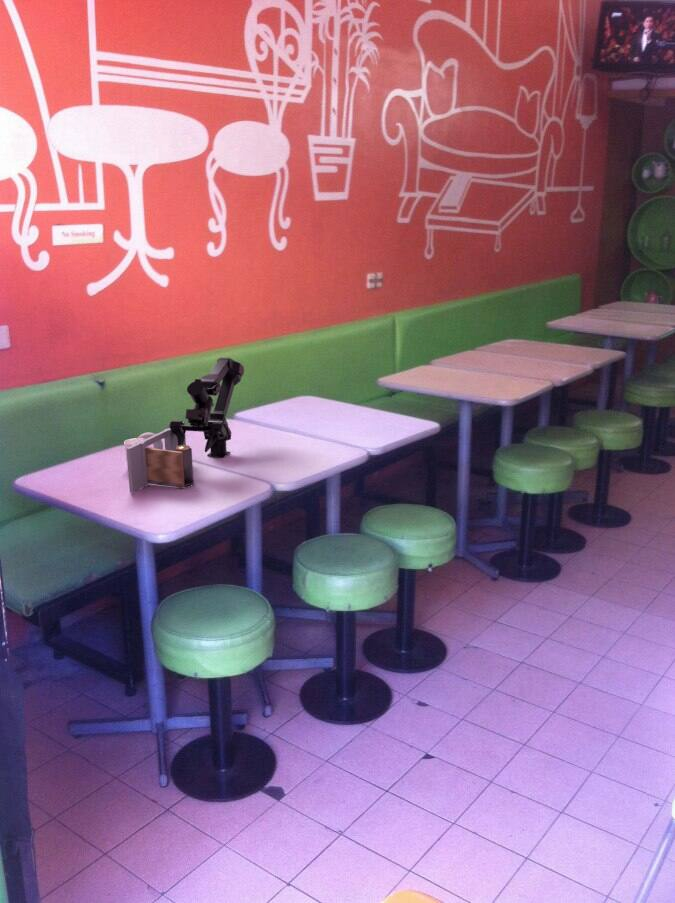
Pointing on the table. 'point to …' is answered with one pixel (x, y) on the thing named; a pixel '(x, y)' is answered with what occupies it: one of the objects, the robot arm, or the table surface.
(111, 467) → the table surface
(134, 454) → the wall frame
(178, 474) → the door
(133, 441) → the white cup
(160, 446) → the donut
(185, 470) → the dark metallic tumbler
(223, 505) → the table surface
